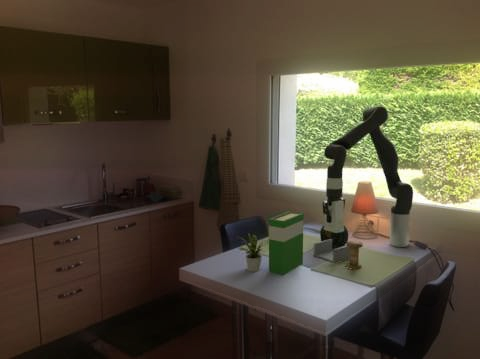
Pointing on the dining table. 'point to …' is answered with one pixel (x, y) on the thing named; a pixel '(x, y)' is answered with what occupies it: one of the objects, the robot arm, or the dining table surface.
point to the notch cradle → (330, 251)
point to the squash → (335, 236)
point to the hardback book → (285, 243)
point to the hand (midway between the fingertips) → (333, 221)
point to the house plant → (253, 254)
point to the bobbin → (354, 254)
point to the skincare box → (335, 217)
